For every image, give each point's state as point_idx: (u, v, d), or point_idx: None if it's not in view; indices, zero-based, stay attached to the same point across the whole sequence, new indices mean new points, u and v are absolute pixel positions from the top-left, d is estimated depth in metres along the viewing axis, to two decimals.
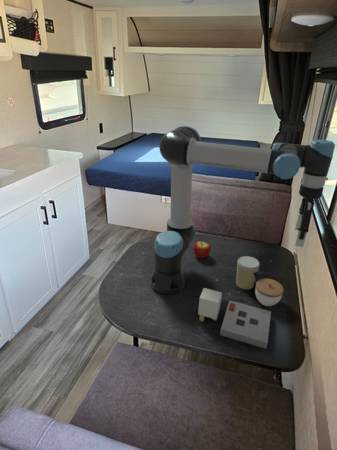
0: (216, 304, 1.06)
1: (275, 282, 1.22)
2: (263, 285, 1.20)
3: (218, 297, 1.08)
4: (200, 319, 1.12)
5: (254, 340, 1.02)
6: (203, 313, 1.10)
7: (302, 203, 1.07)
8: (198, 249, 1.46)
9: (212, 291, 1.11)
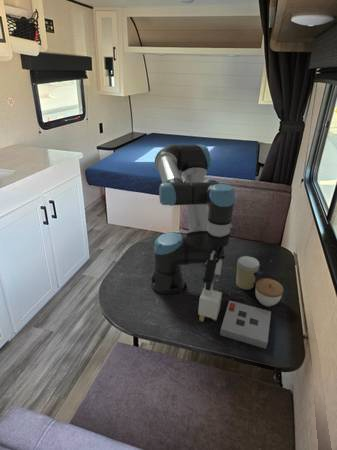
0: (216, 304, 1.06)
1: (275, 282, 1.22)
2: (263, 285, 1.20)
3: (218, 297, 1.08)
4: (200, 319, 1.12)
5: (254, 340, 1.02)
6: (203, 313, 1.10)
7: (209, 250, 0.99)
8: None
9: (212, 291, 1.11)
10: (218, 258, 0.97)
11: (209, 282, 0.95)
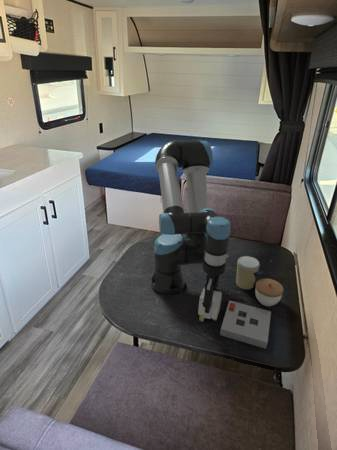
0: (216, 304, 1.06)
1: (275, 282, 1.22)
2: (263, 285, 1.20)
3: (218, 297, 1.08)
4: (200, 319, 1.12)
5: (254, 340, 1.02)
6: None
7: (206, 278, 1.04)
8: None
9: None
10: (215, 286, 1.04)
11: (208, 307, 1.04)
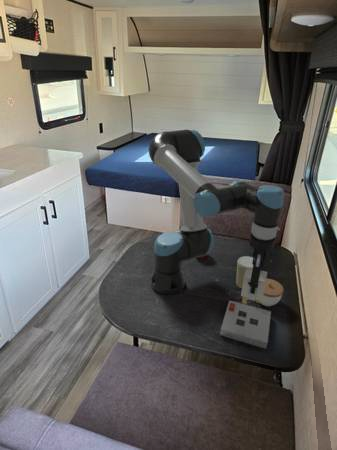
0: (263, 283, 0.97)
1: (275, 282, 1.22)
2: None
3: (264, 276, 0.99)
4: (243, 301, 1.03)
5: (254, 340, 1.02)
6: (247, 294, 1.01)
7: (253, 255, 0.95)
8: None
9: None
10: (263, 263, 0.94)
11: (255, 286, 0.94)
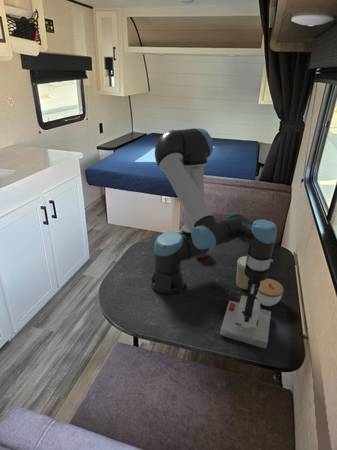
0: (256, 312, 1.03)
1: (275, 282, 1.22)
2: (263, 285, 1.20)
3: (258, 305, 1.05)
4: None
5: (254, 340, 1.02)
6: None
7: None
8: None
9: None
10: (257, 291, 0.99)
11: (249, 316, 0.96)
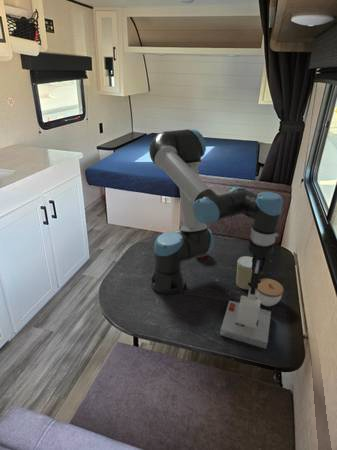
0: (256, 312, 1.03)
1: (275, 282, 1.22)
2: (263, 285, 1.20)
3: (258, 305, 1.05)
4: None
5: (254, 340, 1.02)
6: (242, 321, 1.07)
7: (252, 261, 0.96)
8: None
9: None
10: (262, 268, 0.96)
11: (255, 287, 0.98)
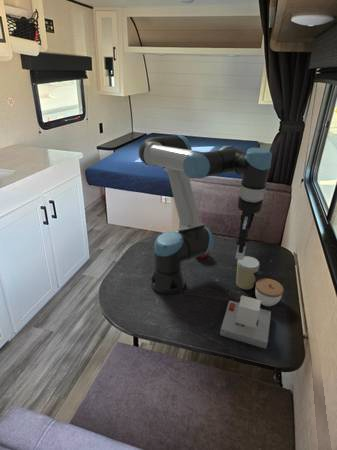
0: (256, 312, 1.03)
1: (275, 282, 1.22)
2: (263, 285, 1.20)
3: (258, 305, 1.05)
4: None
5: (254, 340, 1.02)
6: (242, 321, 1.07)
7: None
8: None
9: (250, 299, 1.08)
10: (250, 225, 0.98)
11: (243, 244, 1.00)
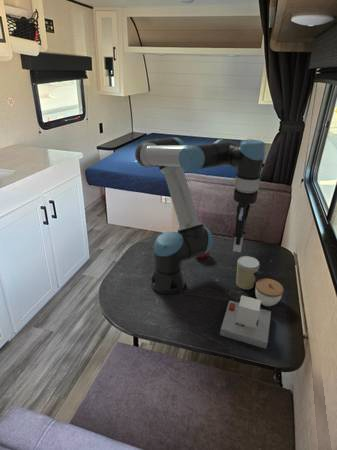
0: (256, 312, 1.03)
1: (275, 282, 1.22)
2: (263, 285, 1.20)
3: (258, 305, 1.05)
4: None
5: (254, 340, 1.02)
6: (242, 321, 1.07)
7: None
8: None
9: (250, 299, 1.08)
10: (246, 216, 0.99)
11: (240, 236, 1.01)
